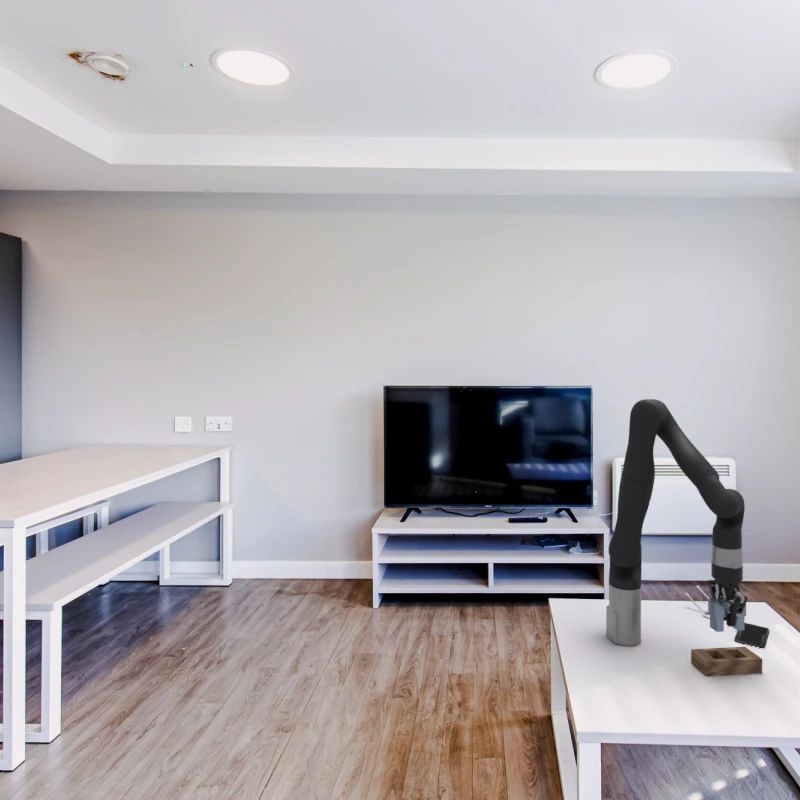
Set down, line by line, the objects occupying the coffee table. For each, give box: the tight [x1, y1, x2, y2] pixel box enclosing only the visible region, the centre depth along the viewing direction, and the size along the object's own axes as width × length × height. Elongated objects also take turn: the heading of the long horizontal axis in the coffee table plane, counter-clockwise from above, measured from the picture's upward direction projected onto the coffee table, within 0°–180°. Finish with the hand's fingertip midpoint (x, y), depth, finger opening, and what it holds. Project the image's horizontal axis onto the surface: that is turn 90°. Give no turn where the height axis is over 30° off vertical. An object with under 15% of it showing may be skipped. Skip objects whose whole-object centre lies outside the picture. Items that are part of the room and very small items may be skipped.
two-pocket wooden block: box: [690, 646, 763, 677], centre depth 157 cm, size 16×7×4 cm, turn 94°
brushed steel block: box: [707, 598, 747, 633], centre depth 156 cm, size 9×3×8 cm, turn 94°
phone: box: [734, 622, 770, 649], centre depth 175 cm, size 8×1×15 cm
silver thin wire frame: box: [684, 585, 711, 620], centre depth 194 cm, size 16×14×6 cm
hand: (726, 622), depth 156 cm, fingers closed on brushed steel block, 3 cm apart
